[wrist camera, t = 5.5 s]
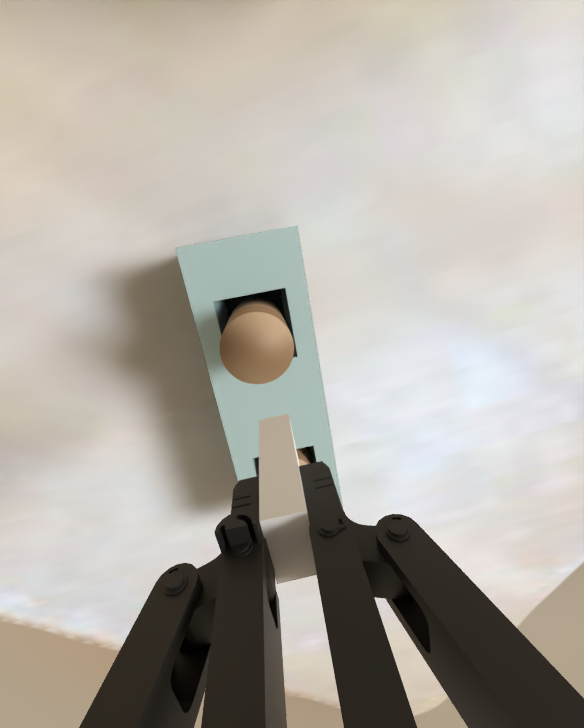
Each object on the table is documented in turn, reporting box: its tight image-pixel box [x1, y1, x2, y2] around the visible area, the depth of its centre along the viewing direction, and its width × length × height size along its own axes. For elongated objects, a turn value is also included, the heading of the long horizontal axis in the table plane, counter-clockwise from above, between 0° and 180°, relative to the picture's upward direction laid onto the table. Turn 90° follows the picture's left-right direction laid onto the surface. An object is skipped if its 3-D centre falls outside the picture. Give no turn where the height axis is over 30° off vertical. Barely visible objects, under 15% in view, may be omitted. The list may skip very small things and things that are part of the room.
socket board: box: [175, 226, 343, 508], centre depth 33 cm, size 28×9×8 cm, turn 10°
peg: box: [219, 298, 294, 384], centre depth 25 cm, size 5×5×8 cm
